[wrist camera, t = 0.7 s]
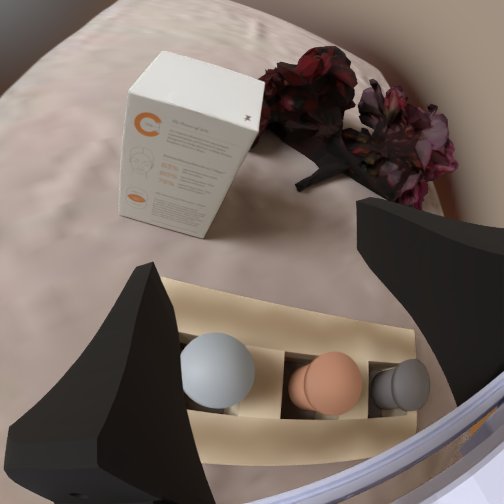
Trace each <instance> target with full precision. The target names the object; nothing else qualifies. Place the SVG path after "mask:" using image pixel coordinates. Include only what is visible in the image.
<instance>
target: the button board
mask: <svg viewBox="0 0 504 504" xmlns="http://www.w3.org/2000/svg"><path fill="white" fill-rule="evenodd" d="M161 281H162V283H163V285H164V287H165V289H166V292H167V294H168V296H169V298H170V300H171V302H172V305H173V307H174V311H175V316H176V321H177V327H178V332H179V343H182V344H187V345H188V344H189V343H190V342H191V341H192V340H194V339H195V338H197V337H198V336H200V335H203V334H206V333H213V332H216V333H224V334H228V335H230V336H232V337H234V338H236V339H237V340H239V341H240V342H241V343H242V344H243V345H244V346H245V347H246V348H247V349H248V351H249V352H250V354H251V356H252V359H253V362H254V366H255V378H254V383H253V386H252V388H251V390H250V392H249V393H248V394H247V396H246V397H245V398H244V399H243V400H242V401H240V402H239V403H237V404H235V405H233V406H230V407H227V408H224V414H216V413H208V412H200V411H194V410H187V412H188V417H189V421H190V425H191V429H192V433H193V436H194V440H195V444H196V447H197V451H198V454H199V457H200V461H201V463H210V464H223V465H246V466H285V465H307V464H321V463H332V462H341V461H350V460H357V459H364V458H371V457H374V456H376V455H378V454H380V453H382V452H384V451H386V450H388V449H390V448H392V447H394V446H396V445H398V444H399V443H401V442H403V441H405V440H407V439H408V438H410V437H412V436H414V435H415V434H416V432H417V410H416V411H403V410H401V409H400V408H396V409H387V410H382V414H381V418H368V384H369V369H371V370H382V371H385V370H389V369H393V368H396V367H397V366H398V365H399V364H400V363H401V362H403V361H405V360H409V359H416V349H415V334H414V330H410V329H404V328H398V327H392V326H387V325H381V324H375V323H370V322H364V321H359V320H354V319H348V318H343V317H338V316H333V315H328V314H323V313H318V312H313V311H308V310H303V309H298V308H293V307H289V306H284V305H279V304H275V303H270V302H265V301H261V300H256V299H252V298H248V297H243V296H239V295H234V294H230V293H226V292H222V291H217V290H213V289H209V288H205V287H201V286H197V285H193V284H189V283H185V282H181V281H177V280H173V279H169V278H165V277H161ZM333 351H336V352H342V353H344V354H346V355H348V356H349V357H351V358H352V359H353V360H354V362H355V363H356V365H357V366H358V368H359V371H360V373H361V378H362V390H361V394H360V397H359V400H358V401H357V403H356V404H355V406H354V407H353V408H352V409H351V410H350V411H348V412H346V413H344V414H342V415H333V416H329V415H323V414H321V413H319V412H317V411H315V416H314V420H293V419H280V413H281V400H282V386H283V371H284V361H288V362H296V363H304V364H310V363H311V362H312V361H313V360H314V359H315V358H316V357H318V356H320V355H322V354H325V353H328V352H333Z"/></svg>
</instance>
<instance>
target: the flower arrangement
mask: <svg viewBox="0 0 504 504" xmlns="http://www.w3.org/2000/svg"><path fill="white" fill-rule="evenodd" d="M350 65H351V61H350V60H349V59H348V58H347V57H346V55H345V53H344V52H343V51H341V50H340V49H339V48H338V47H336V46H325V47H315V48H312V49H310V50H308V51H307V52H306V53H305V54H304V55H303V56H302V57H301V58H300V59H299V61H298V64H297V65H294V64H288V63H284V62H279V63H277V68H276V67H275V69H268V71H267V70H266V69H265V70H266V74H265V75H263V76H262V77H260V78H259V79H258V80H260V81H263V82H265V87H264V94H263V101H262V108H261V116H260V125H259V133H258V135H257V137H256V138H255V140H254V142H253V144H252V146H251V148H250V149H252V148H253V147H254V146H255V145H256V144H257V143H258V140H259V135H260V133H261V132H262V131H263V130H264V129H270V130H271V131H273V132H274V133H275V134H276V135H277V136H278V137H279V138H280V139H281V140H282V141H283V142H284V143H286V144H287V145H289V146H291V147H292V148H294V149H295V150H297V151H298V152H300V153H301V154H303V155H305V156H306V157H307V158H309V159H310V160H312V161H313V162H314V163H315V164H316V165H317V166H318V167H319V168H320V169H318V170H317V171H316V172H315V173H314V174H312V175H311V176H309V177H307V178H305V179H303V180H301V181H300V182H298V183H296V184H295V186H296V187H297V191H299V192H300V191H301V190H303V189H304V188H306V187H308V186H310V185H312V184H314V183H317V182H320V181H322V180H324V179H326V178H329V177H331V176H333V175H335V174H338V173H344V174H346V175H347V176H349V177H350V178H352V179H354V180H355V181H357V182H358V183H360V184H361V185H363V186H365V187H366V188H368V189H370V190H371V191H373V192H375V193H377V194H379V195H380V196H382V197H384V198H385V199H386V200H388V201H391V202H395V203H398V204H401V205H405V206H408V207H411V208H415V209H418V210H421V211H422V202H423V201H424V199H423V197H424V196H425V195H426V194H427V193H428V184H427V182H428V181H433V180H434V179H436V178H438V177H439V176H441V175H444V174H445V173H452V172H453V171H454V170H456V169H457V168H458V165H459V163H458V161H457V160H456V159H455V158H453V155H452V153H453V152H454V150H455V149H454V144H453V143H452V142H451V141H450V140H449V131H448V121H447V118H446V117H445V116H444V114H437V115H434V114H435V112H436V111H437V109H438V107H437V106H436V105H433V104H427V107H428V114H427V112H425V111H424V110H422V108H420V107H418V108H416V107H414V106H413V105H411V104H406V101H407V99H408V97H407V95H406V94H405V93H404V92H403V90H402V88H401V86H393V87H392V88H390V89H389V90H388V91H387V92H386V97H385V98H384V97H383V95H382V92H381V88H380V85H379V84H378V82H377V81H376V80H374V79H371V80H369V81H370V85H371V86H372V87H370V88H367V89H365V90H363V93H362V97H361V100H360V102H359V104H358V109H359V113H360V116H359V118H360V120H361V123H362V124H364V125H366V126H368V127H370V128H372V129H374V132H373V134H372V135H370V133H369V131H368V129H365V128H362V129H361V132H358V131H356V130H354V129H352V128H347V129H343V130H342V128H343V121H342V120H343V117H344V112H345V110H348V109H351V108H354V107H355V105H356V104H355V103H354V102H353V101H352V100H353V98H354V96H355V90H354V87H355V86H356V85H357V84H358V83H357V78H356V75H355V72H354V71H353V70H352V69H351V68H350Z"/></svg>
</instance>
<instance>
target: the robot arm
mask: <svg viewBox="0 0 504 504" xmlns="http://www.w3.org/2000/svg"><path fill="white" fill-rule="evenodd" d="M356 207H357V250H358V251H359V253H360V254H361V256H362V257H363V259H364V260H365V262H366V263H367V265H368V266H369V268H370V269H371V270H372V271H373V273H374V274H375V275H376V276H377V277H378V278H379V279H380V280H381V282H382V283H383V284H384V285H385V286H386V287H387V288H388V289H389V291H390V292H391V293H392V294H393V295H394V296H395V297H396V299H397V300H398V301H399V302H400V303H401V304H402V305H403V307H404V308H405V309H406V310H407V311H408V313H409V314H410V315H411V317H412V318H413V320H414V321H415V323H416V324H417V326H418V327H419V329H420V330H421V332H422V333H423V335H424V337H425V338H426V340H427V342H428V344H429V345H430V347H431V349H432V351H433V352H434V354H435V356H436V358H437V360H438V362H439V364H440V366H441V368H442V370H443V372H444V374H445V376H446V379H447V381H448V383H449V386H450V388H451V391H452V393H453V396H454V398H455V401H456V404H457V408H456V409H454V410H453V411H451V412H450V413H448V414H447V415H446V416H444V417H443V418H441V419H439V420H438V421H436V422H435V423H433V424H432V425H430V426H428V427H427V428H425V429H424V430H422V431H420V432H419V433H417V434H415V435H414V436H412V437H410V438H408V439H407V440H405V441H403V442H401V443H399V444H398V445H396V446H394V447H392V448H390V449H388V450H386V451H384V452H382V453H380V454H378V455H376V456H374V457H372V458H370V459H368V460H366V461H364V462H362V463H360V464H357V465H355V466H353V467H351V468H348V469H346V470H344V471H341V472H339V473H337V474H334V475H332V476H329V477H327V478H324V479H321V480H319V481H316V482H313V483H311V484H308V485H305V486H302V487H299V488H296V489H293V490H290V491H287V492H284V493H281V494H277V495H274V496H270V497H267V498H263V499H259V500H256V501H252V502H248V503H243V504H336V503H339V502H341V501H344V500H346V499H349V498H351V497H353V496H355V495H358V494H360V493H362V492H364V491H366V490H369V489H371V488H373V487H375V486H377V485H379V484H381V483H383V482H385V481H387V480H389V479H391V478H393V477H394V476H396V475H398V474H400V473H402V472H404V471H405V470H407V469H409V468H411V467H412V466H414V465H416V464H417V463H419V462H421V461H422V460H424V459H426V458H427V457H429V456H430V455H432V454H434V453H435V452H437V451H438V450H440V449H441V448H443V447H444V446H446V445H447V444H449V443H450V442H452V441H453V440H454V439H456V438H457V437H459V436H460V435H461V434H463V433H464V432H465V431H467V430H468V429H469V428H471V427H472V426H473V425H475V424H476V423H477V422H478V421H480V420H481V419H482V418H483V417H485V416H486V415H487V414H488V413H489V412H491V411H492V410H493V409H494V408H495V407H496V406H498V407H497V410H496V411H495V412H494V413H493V414H492V415H491V416H489V417H488V418H487V419H486V420H485V422H484V423H483V424H482V426H481V427H480V428H479V429H478V430H477V431H476V432H475V433H474V434H473V435H472V436H471V437H470V438H469V439H468V440H467V441H466V442H465V443H464V444H462V445H461V446H460V449H459V450H460V452H461V453H462V455H463V456H464V457H463V458H461V459H460V460H459V461H457V462H456V463H454V464H453V465H452V466H450V467H449V468H447V469H446V470H444V471H443V472H441V473H440V474H438V475H437V476H435V477H434V478H432V479H431V480H429V481H428V482H426V483H424V484H423V485H421V486H419V487H418V488H416V489H414V490H413V491H411V492H409V493H408V494H406V495H404V496H402V497H401V498H399V499H397V500H395V501H393V502H391V503H389V504H504V228H496V227H488V226H482V225H477V224H472V223H467V222H462V221H457V220H453V219H449V218H446V217H442V216H439V215H435V214H432V213H428V212H425V211H421V210H418V209H415V208H411V207H408V206H405V205H401V204H398V203H395V202H391V201H387V200H383V199H379V198H373V197H369V198H366V199H362V200H359V201H356ZM4 471H5V472H6V474H7V475H8V477H9V478H10V479H12V480H13V481H14V482H15V483H17V484H19V485H20V486H22V487H24V488H26V489H28V490H30V491H32V492H34V493H36V494H38V495H40V496H42V497H44V498H46V499H48V500H51V501H53V502H54V504H216V503H215V501H214V498H213V495H212V493H211V490H210V487H209V485H208V482H207V479H206V476H205V473H204V470H203V467H202V464H201V461H200V457H199V454H198V451H197V447H196V444H195V440H194V436H193V433H192V429H191V425H190V421H189V417H188V412H187V408H186V403H185V398H184V391H183V382H182V370H181V357H180V344H179V332H178V327H177V321H176V316H175V311H174V307H173V305H172V302H171V300H170V298H169V296H168V294H167V292H166V289H165V287H164V285H163V283H162V281H161V278H160V276H159V274H158V272H157V269H156V267H155V265H154V262H150V263H147V264H144V265H141V266H138V267H136V268H135V270H134V271H133V273H132V274H131V276H130V278H129V280H128V281H127V283H126V285H125V287H124V289H123V290H122V292H121V294H120V296H119V297H118V299H117V301H116V303H115V304H114V306H113V308H112V309H111V311H110V313H109V314H108V316H107V317H106V319H105V321H104V322H103V324H102V326H101V327H100V329H99V330H98V332H97V333H96V335H95V336H94V338H93V339H92V341H91V342H90V343H89V345H88V346H87V347H86V349H85V350H84V352H83V353H82V354H81V356H80V357H79V358H78V359H77V360H76V362H75V363H74V364H73V365H72V366H71V367H70V369H69V370H68V371H67V372H66V373H65V375H64V376H63V377H62V378H61V379H60V380H59V382H58V383H57V384H56V385H55V386H54V387H53V388H52V389H51V390H50V391H49V392H48V393H47V394H46V395H45V396H44V397H43V398H42V399H41V400H40V401H39V402H38V403H37V404H36V405H35V406H33V407H32V408H31V409H30V410H29V411H28V412H26V413H25V414H24V415H23V416H22V417H21V418H19V419H18V420H17V421H16V422H15V423H14V424H12V425H11V426H10V427H9V431H8V437H7V444H6V452H5V461H4Z"/></svg>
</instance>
